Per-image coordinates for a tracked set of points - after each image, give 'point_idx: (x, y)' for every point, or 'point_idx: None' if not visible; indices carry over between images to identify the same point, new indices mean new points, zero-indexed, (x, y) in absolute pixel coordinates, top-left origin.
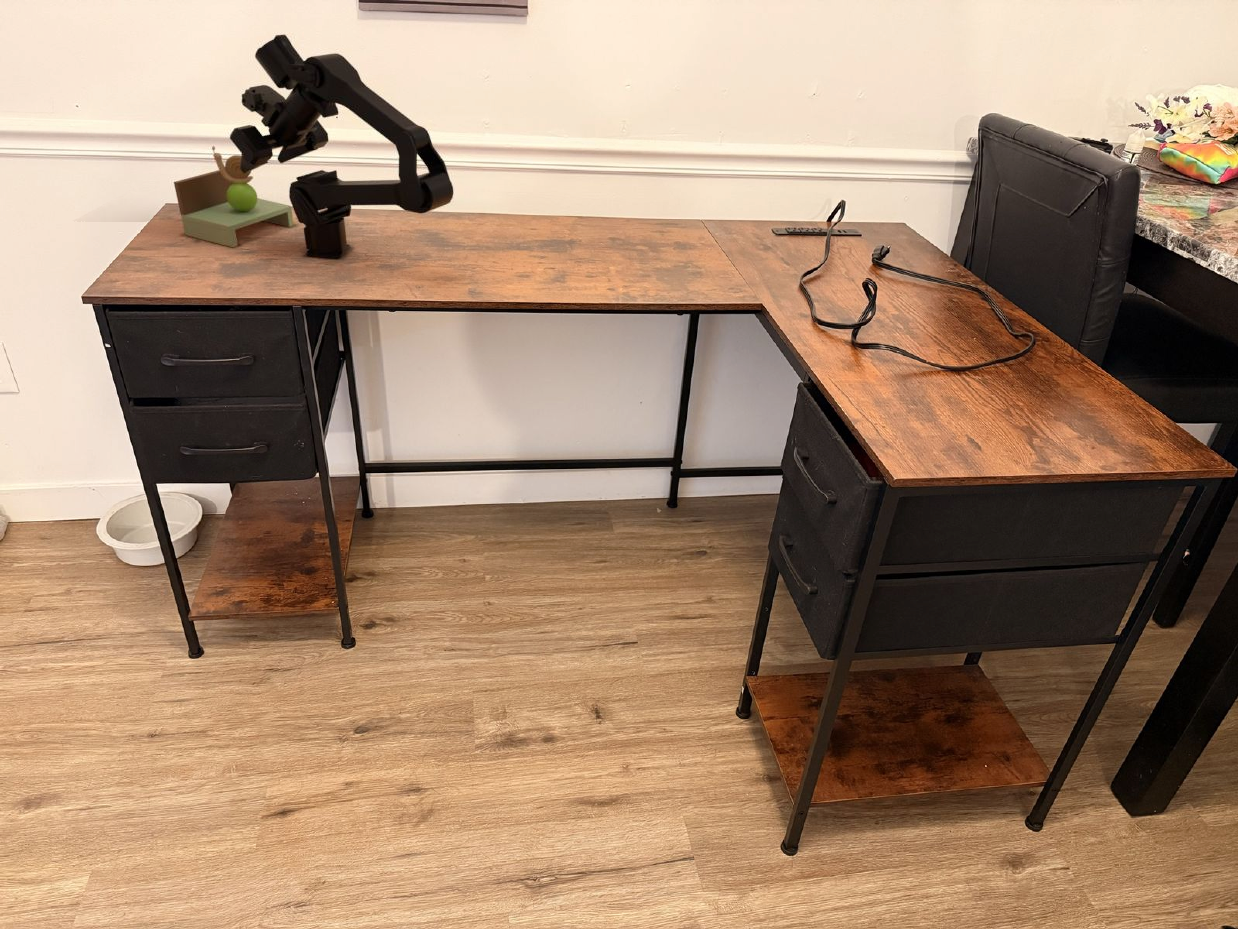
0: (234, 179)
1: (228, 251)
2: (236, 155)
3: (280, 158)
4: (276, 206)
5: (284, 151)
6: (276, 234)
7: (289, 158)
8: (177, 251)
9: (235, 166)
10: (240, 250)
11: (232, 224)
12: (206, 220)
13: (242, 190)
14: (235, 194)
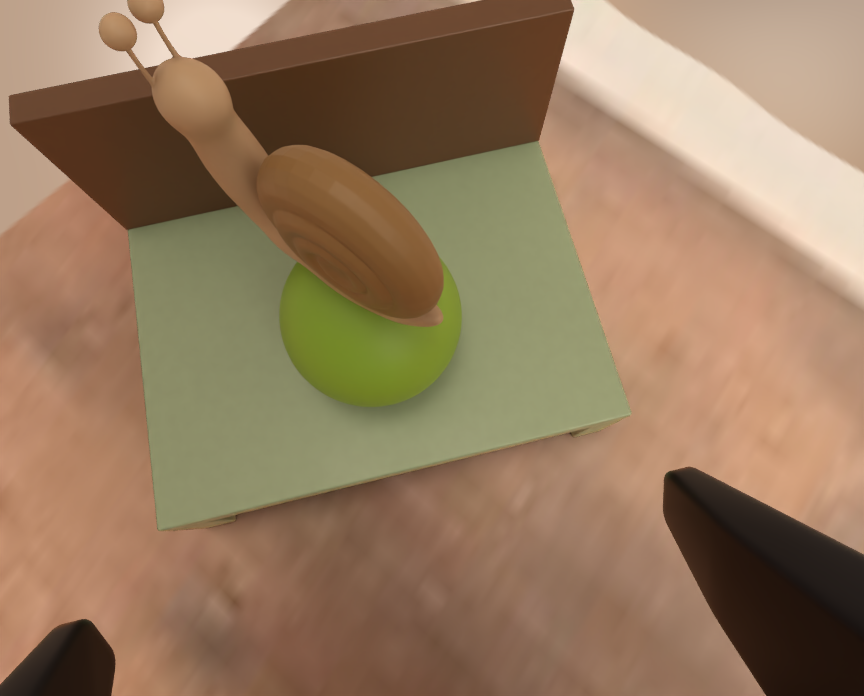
0: (316, 274)
1: (158, 562)
2: (331, 182)
3: (688, 527)
4: (558, 378)
5: (785, 622)
6: (464, 491)
7: (765, 686)
8: (19, 414)
9: (305, 251)
10: (204, 588)
11: (190, 512)
12: (144, 364)
13: (334, 362)
14: (293, 352)
